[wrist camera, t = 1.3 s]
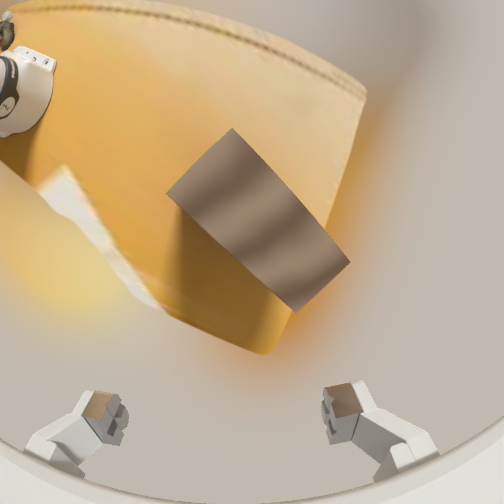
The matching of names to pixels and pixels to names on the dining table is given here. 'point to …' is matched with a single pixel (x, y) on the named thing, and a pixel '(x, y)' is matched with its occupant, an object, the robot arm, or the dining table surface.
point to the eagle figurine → (6, 30)
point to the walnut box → (259, 221)
